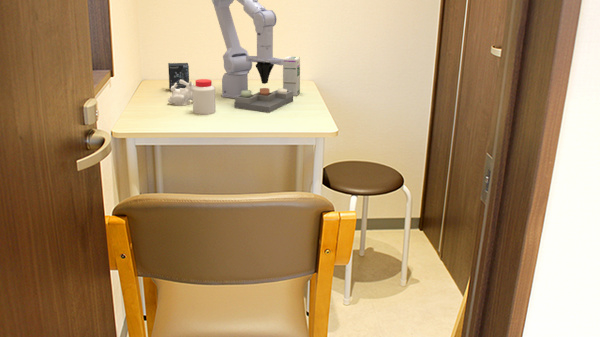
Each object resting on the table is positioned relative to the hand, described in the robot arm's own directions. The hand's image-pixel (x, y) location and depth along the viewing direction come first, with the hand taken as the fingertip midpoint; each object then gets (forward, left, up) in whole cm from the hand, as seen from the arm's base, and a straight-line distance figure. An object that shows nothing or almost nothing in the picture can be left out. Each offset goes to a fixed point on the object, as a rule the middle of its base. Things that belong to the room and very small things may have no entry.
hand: (264, 83), depth 220 cm
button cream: (+4, +6, -5) cm, 9 cm away
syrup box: (+2, +20, -8) cm, 22 cm away
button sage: (-4, -7, -4) cm, 9 cm away
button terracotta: (0, 0, -4) cm, 4 cm away
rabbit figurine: (-25, -14, -8) cm, 30 cm away
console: (0, 0, -8) cm, 8 cm away
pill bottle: (-13, -20, -8) cm, 25 cm away
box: (-40, +4, -8) cm, 42 cm away
